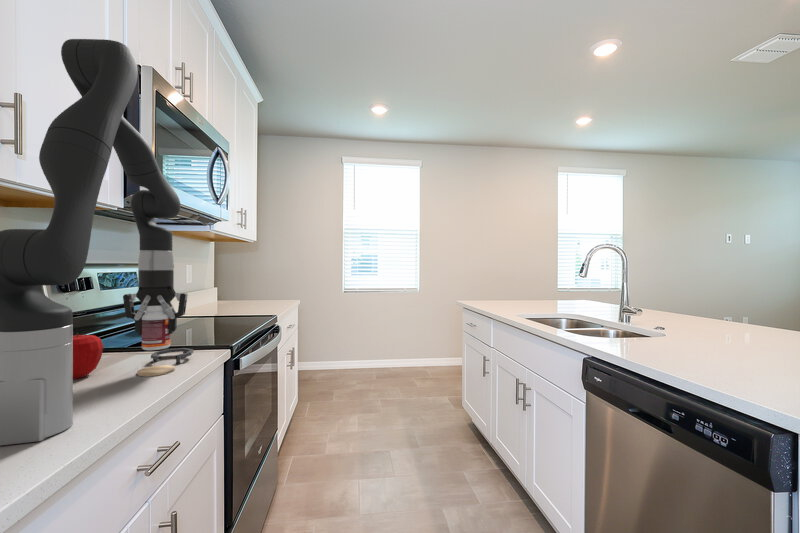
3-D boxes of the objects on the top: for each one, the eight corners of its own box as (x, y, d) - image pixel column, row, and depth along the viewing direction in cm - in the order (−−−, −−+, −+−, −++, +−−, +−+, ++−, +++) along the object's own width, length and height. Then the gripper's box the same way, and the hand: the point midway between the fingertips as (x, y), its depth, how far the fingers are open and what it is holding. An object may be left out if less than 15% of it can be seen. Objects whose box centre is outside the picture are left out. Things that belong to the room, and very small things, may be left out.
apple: (113, 371, 94) (113, 329, 94) (74, 383, 85) (74, 336, 85) (80, 370, 96) (80, 328, 96) (38, 381, 86) (38, 335, 86)
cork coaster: (169, 374, 92) (169, 372, 92) (132, 377, 89) (132, 375, 89) (178, 366, 99) (178, 364, 99) (143, 368, 97) (143, 366, 97)
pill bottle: (171, 348, 94) (170, 305, 93) (141, 352, 90) (141, 307, 90) (170, 344, 99) (170, 303, 99) (142, 347, 95) (141, 304, 95)
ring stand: (188, 363, 102) (188, 355, 102) (147, 366, 99) (147, 357, 99) (195, 355, 111) (195, 347, 111) (158, 357, 108) (158, 349, 108)
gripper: (116, 268, 88) (116, 338, 89) (184, 268, 93) (184, 335, 93) (128, 268, 96) (129, 332, 96) (191, 268, 100) (191, 330, 100)
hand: (156, 333), depth 94 cm, fingers closed on pill bottle, 6 cm apart
